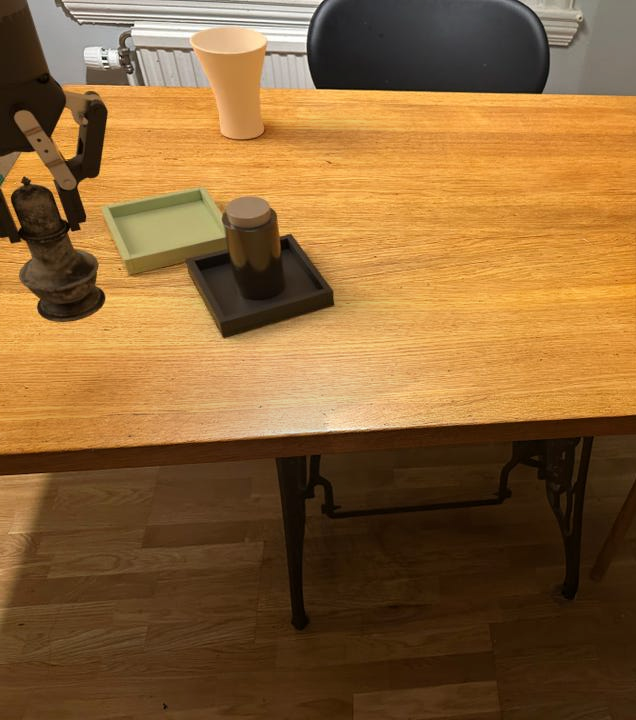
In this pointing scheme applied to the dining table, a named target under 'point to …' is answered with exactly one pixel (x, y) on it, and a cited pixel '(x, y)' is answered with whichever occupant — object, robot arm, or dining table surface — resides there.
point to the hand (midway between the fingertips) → (45, 230)
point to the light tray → (165, 228)
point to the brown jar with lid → (254, 248)
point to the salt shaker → (54, 258)
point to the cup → (234, 76)
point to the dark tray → (244, 314)
